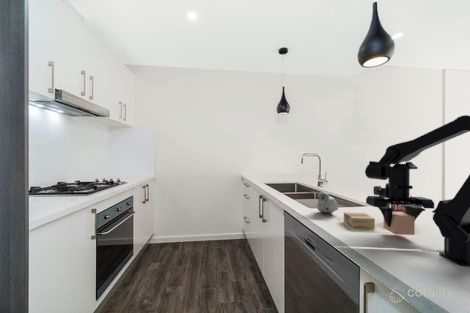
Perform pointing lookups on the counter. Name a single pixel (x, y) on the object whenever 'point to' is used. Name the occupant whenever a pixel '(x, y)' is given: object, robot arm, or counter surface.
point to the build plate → (377, 229)
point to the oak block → (359, 220)
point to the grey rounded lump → (326, 203)
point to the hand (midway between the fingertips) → (398, 226)
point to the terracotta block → (401, 224)
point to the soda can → (399, 207)
